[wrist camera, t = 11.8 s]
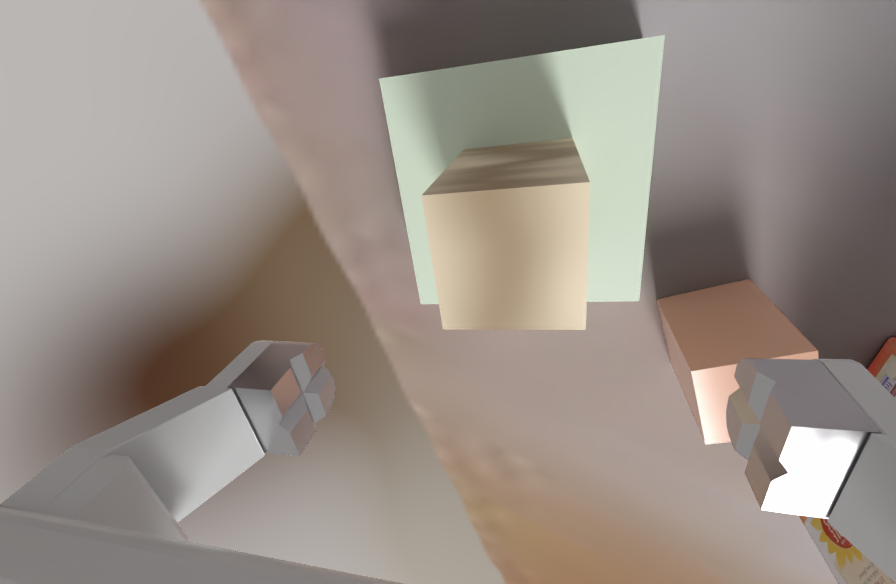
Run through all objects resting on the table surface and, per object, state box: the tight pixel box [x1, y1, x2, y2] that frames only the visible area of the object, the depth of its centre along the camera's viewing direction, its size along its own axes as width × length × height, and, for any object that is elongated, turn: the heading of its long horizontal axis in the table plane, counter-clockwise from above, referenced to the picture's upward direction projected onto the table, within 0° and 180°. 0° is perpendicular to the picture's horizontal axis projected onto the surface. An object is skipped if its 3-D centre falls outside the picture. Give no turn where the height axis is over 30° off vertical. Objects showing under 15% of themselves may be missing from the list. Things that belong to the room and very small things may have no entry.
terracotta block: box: [657, 279, 819, 444], centre depth 23 cm, size 5×5×7 cm
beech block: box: [421, 138, 590, 330], centre depth 17 cm, size 5×5×8 cm
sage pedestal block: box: [379, 35, 665, 304], centre depth 22 cm, size 12×12×4 cm
